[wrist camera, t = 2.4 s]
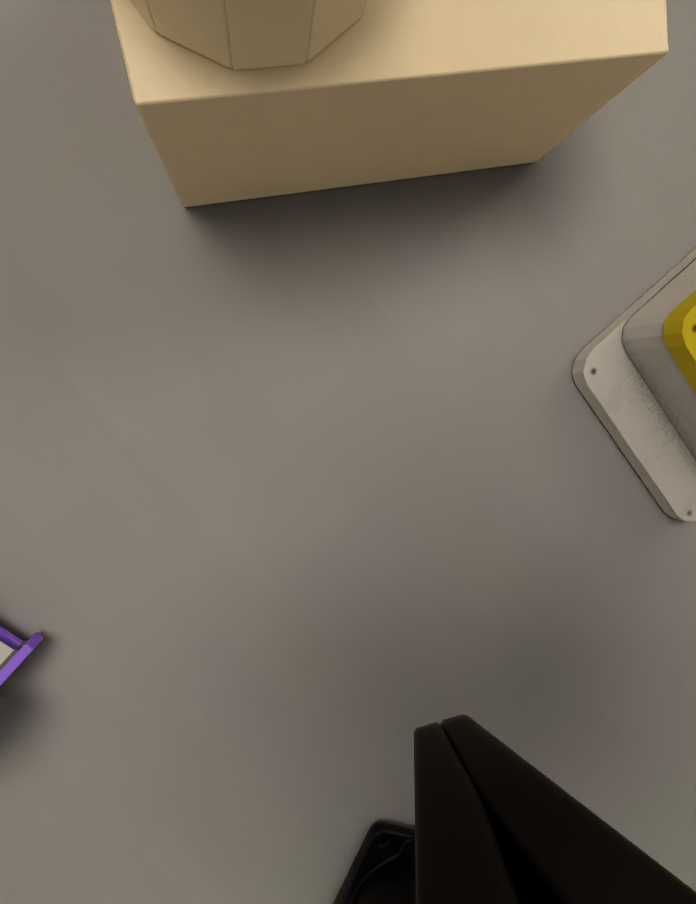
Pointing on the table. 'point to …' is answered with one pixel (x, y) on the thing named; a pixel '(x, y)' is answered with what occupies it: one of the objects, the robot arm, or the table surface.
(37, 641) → the toy race car
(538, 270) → the table surface
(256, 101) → the button base
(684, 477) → the emergency button
